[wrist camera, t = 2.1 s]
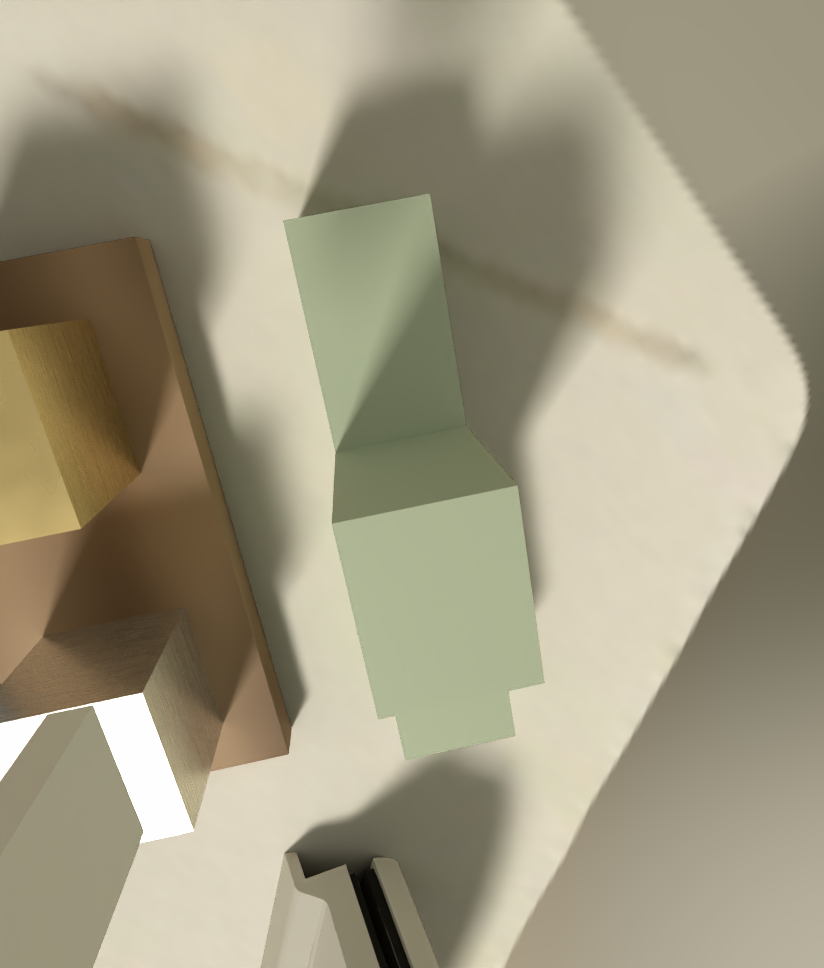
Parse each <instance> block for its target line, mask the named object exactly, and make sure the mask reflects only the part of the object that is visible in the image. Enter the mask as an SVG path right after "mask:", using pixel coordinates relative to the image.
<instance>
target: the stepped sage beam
mask: <svg viewBox="0 0 824 968" xmlns="http://www.w3.org/2000/svg"><path fill="white" fill-rule="evenodd" d="M283 222H284V226H285V231H286V235H287V240H288V244H289V248H290V253H291V257H292V262H293V266H294V271H295V275H296V279H297V284H298V288H299V293H300V297H301V301H302V306H303V310H304V315H305V319H306V323H307V328H308V332H309V337H310V341H311V346H312V350H313V354H314V359H315V363H316V368H317V372H318V376H319V381H320V385H321V390H322V394H323V398H324V403H325V407H326V412H327V416H328V421H329V425H330V429H331V434H332V438H333V443H334V447H335V451H336V455H335V474H334V493H333V513H332V526H333V530H334V535H335V539H336V543H337V547H338V551H339V556H340V560H341V564H342V568H343V573H344V577H345V581H346V585H347V589H348V594H349V598H350V602H351V606H352V610H353V615H354V619H355V623H356V627H357V632H358V636H359V640H360V644H361V648H362V653H363V657H364V661H365V665H366V669H367V674H368V678H369V682H370V686H371V691H372V695H373V699H374V703H375V707H376V712H377V716H378V719H383V718H387V717H392V716H396V720H397V725H398V729H399V734H400V738H401V743H402V747H403V751H404V756H405V760H410V759H414V758H419V757H423V756H428V755H432V754H437V753H441V752H446V751H450V750H455V749H459V748H464V747H468V746H473V745H477V744H482V743H486V742H491V741H495V740H500V739H504V738H509V737H513V736H515V730H514V724H513V717H512V711H511V705H510V698H509V692H508V691H510V690H515V689H520V688H524V687H529V686H533V685H538V684H542V683H544V675H543V668H542V661H541V653H540V646H539V639H538V631H537V624H536V616H535V609H534V602H533V594H532V587H531V580H530V572H529V565H528V558H527V550H526V543H525V536H524V528H523V521H522V513H521V506H520V499H519V491H518V485H517V484H516V483H515V482H514V481H513V479H512V478H511V477H510V476H509V475H508V474H507V472H506V471H505V470H504V469H503V468H502V467H501V465H500V464H499V463H498V462H497V461H496V460H495V458H494V457H493V456H492V455H491V454H490V453H489V451H488V450H487V449H486V448H485V447H484V446H483V444H482V443H481V442H480V441H479V440H478V439H477V437H476V436H475V435H474V434H473V433H472V431H471V430H470V429H469V428H468V427H467V426H466V419H465V413H464V407H463V400H462V394H461V387H460V381H459V375H458V368H457V362H456V356H455V349H454V343H453V337H452V330H451V324H450V318H449V311H448V305H447V299H446V292H445V286H444V280H443V273H442V267H441V261H440V254H439V248H438V242H437V235H436V229H435V223H434V216H433V210H432V204H431V197H430V193H429V194H424V195H419V196H413V197H408V198H402V199H397V200H392V201H386V202H381V203H376V204H370V205H365V206H359V207H354V208H349V209H343V210H338V211H333V212H327V213H322V214H316V215H311V216H306V217H300V218H295V219H290V220H284V221H283Z"/></svg>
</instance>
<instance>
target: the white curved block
mask: <svg viewBox="0 0 824 968" xmlns="http://www.w3.org/2000/svg"><path fill="white" fill-rule="evenodd" d="M261 968H439V965H438V963H437V960H436V958H435V955H434V953H433V950H432V947H431V945H430V942H429V940H428V937H427V935H426V932H425V930H424V927H423V925H422V922H421V920H420V917H419V915H418V912H417V910H416V907H415V905H414V902H413V900H412V897H411V895H410V892H409V890H408V887H407V884H406V882H405V879H404V877H403V874H402V872H401V869H400V867H399V864H398V862H397V860H395V859H391V858H388V857H382V858H373V861H372V864H371V867H370V869H369V870H365V874H364V878H363V882H362V886H361V887H360V884H359V881H358V878H357V875H356V873H352V874H349V873H348V870H347V867H346V864H345V865H342V866H339V867H337V868H334V869H331V870H328V871H326V872H323V873H320V874H317V875H315V876H312V877H309V878H306V879H305V876H304V873H303V870H302V867H301V864H300V861H299V858H298V855H297V853H296V852H290V853H285V854H284V859H283V863H282V868H281V873H280V878H279V883H278V887H277V892H276V897H275V902H274V907H273V911H272V916H271V921H270V926H269V931H268V935H267V940H266V945H265V950H264V955H263V959H262V964H261Z"/></svg>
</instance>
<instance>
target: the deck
mask: <svg viewBox="0 0 824 968" xmlns="http://www.w3.org/2000/svg"><path fill="white" fill-rule="evenodd" d="M82 319H90V321H91V324H92V327H93V330H94V333H95V336H96V339H97V342H98V345H99V348H100V351H101V354H102V357H103V360H104V363H105V366H106V369H107V372H108V375H109V378H110V381H111V384H112V387H113V390H114V393H115V396H116V399H117V403H118V406H119V409H120V412H121V415H122V418H123V421H124V424H125V427H126V430H127V433H128V436H129V439H130V442H131V445H132V448H133V451H134V454H135V457H136V460H137V463H138V466H139V469H140V472H141V474H140V475H138V476H137V477H136V478H135V479H134V480H133V481H132V482H131V483H130V484H129V485H128V486H127V487H126V488H125V489H123V490H122V491H121V492H120V493H119V494H118V495H117V496H116V497H115V498H114V499H113V500H112V501H111V502H109V503H108V504H107V505H106V506H105V507H104V508H103V509H102V510H101V511H100V512H99V513H98V514H97V515H95V516H94V517H93V518H92V519H91V520H90V521H89V522H88V523H87V524H86V525H85V526H84V527H83V528H82V529H78V530H73V531H68V532H63V533H58V534H53V535H48V536H43V537H38V538H34V539H29V540H24V541H19V542H14V543H9V544H4V545H0V683H1V684H2V683H3V682H4V681H5V680H6V679H7V677H8V676H9V675H10V674H11V673H12V672H13V670H14V669H15V668H16V667H17V666H18V665H19V663H20V662H21V661H22V660H23V659H24V658H25V656H26V655H27V654H28V653H29V652H30V651H31V649H32V648H33V647H34V646H35V645H36V644H37V642H38V641H39V640H40V639H41V638H42V637H43V636H48V635H53V634H57V633H62V632H67V631H72V630H76V629H81V628H86V627H91V626H96V625H100V624H105V623H110V622H115V621H119V620H124V619H129V618H134V617H139V616H143V615H148V614H153V613H158V612H162V611H167V610H172V609H177V608H182V607H185V608H186V612H187V615H188V618H189V621H190V624H191V627H192V630H193V633H194V636H195V639H196V642H197V645H198V648H199V651H200V654H201V657H202V660H203V663H204V666H205V669H206V672H207V675H208V678H209V681H210V684H211V687H212V690H213V693H214V696H215V699H216V702H217V705H218V708H219V711H220V715H221V718H222V721H223V726H222V730H221V733H220V737H219V740H218V744H217V748H216V751H215V755H214V759H213V762H212V766H211V769H210V771H215V770H219V769H224V768H228V767H233V766H237V765H242V764H246V763H251V762H255V761H260V760H265V759H269V758H274V757H278V756H283V755H287V754H289V746H290V738H291V729H292V728H291V725H290V722H289V718H288V715H287V711H286V708H285V704H284V701H283V697H282V694H281V691H280V687H279V684H278V680H277V677H276V673H275V670H274V666H273V663H272V660H271V656H270V653H269V649H268V646H267V642H266V639H265V635H264V632H263V629H262V625H261V622H260V618H259V615H258V611H257V608H256V605H255V601H254V598H253V594H252V591H251V587H250V584H249V580H248V577H247V574H246V570H245V567H244V563H243V560H242V556H241V553H240V549H239V546H238V543H237V539H236V536H235V532H234V529H233V525H232V522H231V519H230V515H229V512H228V508H227V505H226V501H225V498H224V494H223V491H222V488H221V484H220V481H219V477H218V474H217V470H216V467H215V463H214V460H213V457H212V453H211V450H210V446H209V443H208V439H207V436H206V432H205V429H204V426H203V422H202V419H201V415H200V412H199V408H198V405H197V402H196V398H195V395H194V391H193V388H192V384H191V381H190V377H189V374H188V371H187V367H186V364H185V360H184V357H183V353H182V350H181V346H180V343H179V340H178V336H177V333H176V329H175V326H174V322H173V319H172V316H171V312H170V309H169V305H168V302H167V298H166V295H165V291H164V288H163V285H162V281H161V278H160V274H159V271H158V267H157V264H156V260H155V257H154V254H153V250H152V247H151V243H150V240H147V239H143V238H138V237H131V238H126V239H120V240H115V241H109V242H104V243H99V244H93V245H88V246H82V247H77V248H72V249H66V250H61V251H56V252H50V253H45V254H39V255H34V256H29V257H23V258H18V259H13V260H7V261H2V262H0V331H4V330H10V329H17V328H24V327H32V326H39V325H46V324H53V323H61V322H68V321H75V320H82Z"/></svg>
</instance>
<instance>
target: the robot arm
mask: <svg viewBox="0 0 824 968" xmlns="http://www.w3.org/2000/svg"><path fill="white" fill-rule="evenodd" d="M143 834H144V829H143V827H142V824H141V822H140V819H139V817H138V814H137V812H136V809H135V807H134V804H133V802H132V799H131V797H130V795H129V792H128V790H127V787H126V785H125V782H124V780H123V777H122V775H121V772H120V770H119V767H118V765H117V763H116V760H115V758H114V755H113V753H112V750H111V748H110V745H109V743H108V740H107V738H106V735H105V733H104V731H103V728H102V726H101V723H100V721H99V718H98V716H97V713H96V711H95V708H94V706H93V705H90V706H85V707H80V708H75V709H70V710H65V711H61V712H56V713H51V714H47V715H46V717H45V718H44V720H43V721H42V722H41V724H40V725H39V727H38V728H37V729H36V731H35V732H34V734H33V735H32V737H31V738H30V739H29V741H28V742H27V744H26V745H25V746H24V748H23V749H22V751H21V752H20V754H19V755H18V756H17V758H16V759H15V761H14V762H13V764H12V765H11V766H10V768H9V769H8V771H7V772H6V773H5V775H4V776H3V778H2V779H1V781H0V968H93V965H94V963H95V960H96V957H97V955H98V952H99V949H100V947H101V944H102V942H103V939H104V936H105V934H106V931H107V928H108V926H109V923H110V920H111V918H112V915H113V913H114V910H115V907H116V905H117V902H118V899H119V897H120V894H121V892H122V889H123V886H124V884H125V881H126V878H127V876H128V873H129V870H130V868H131V865H132V863H133V860H134V857H135V855H136V852H137V849H138V847H139V844H140V842H141V839H142V836H143Z"/></svg>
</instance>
